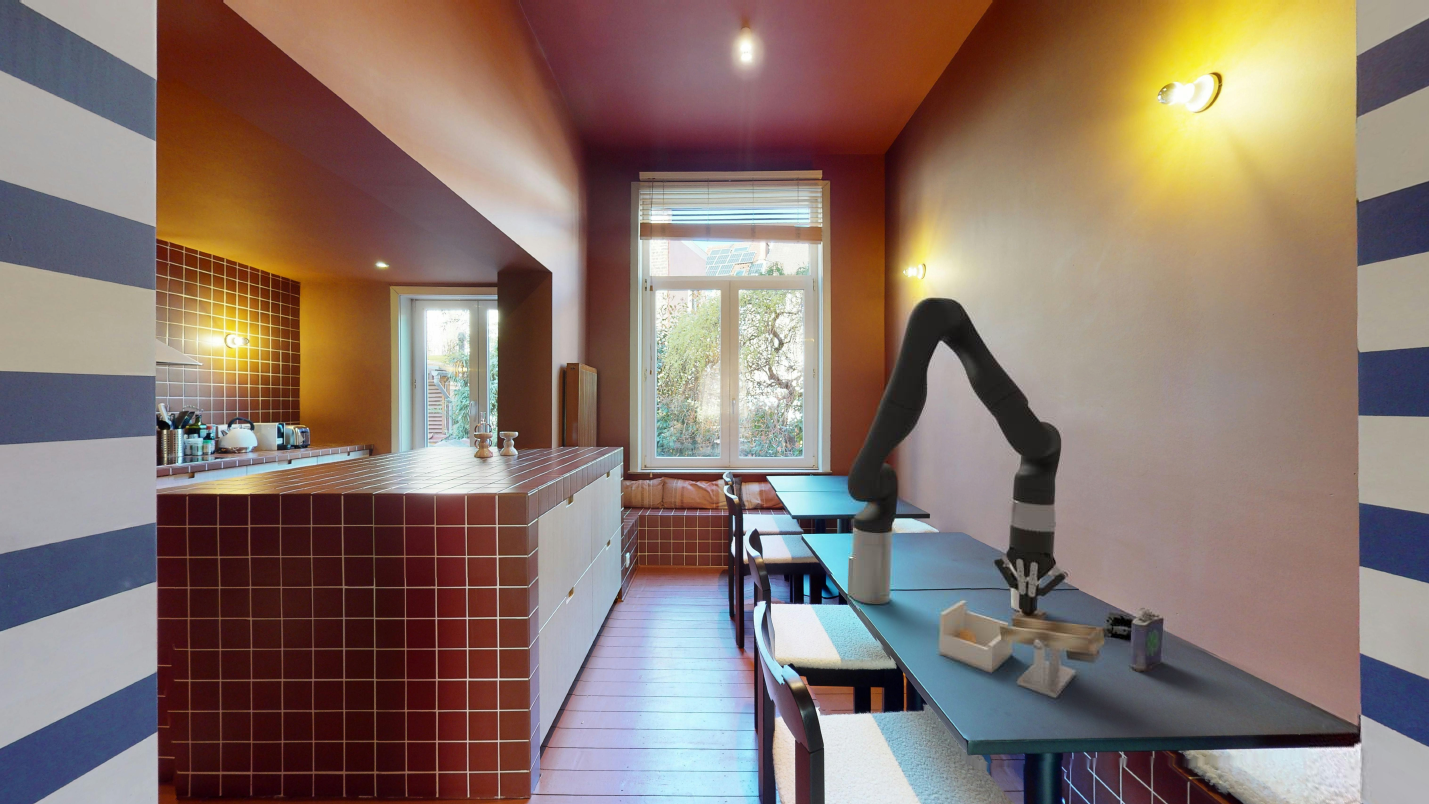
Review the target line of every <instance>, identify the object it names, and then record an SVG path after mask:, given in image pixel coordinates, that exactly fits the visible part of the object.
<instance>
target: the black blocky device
mask: <svg viewBox="0 0 1429 804" xmlns="http://www.w3.org/2000/svg"><path fill="white" fill-rule="evenodd" d="M1133 620H1134V619H1133V618H1132V617H1131V616H1130V615H1129V614H1125V613H1117V612H1116V613H1115V612H1108V616H1107V617H1106V620H1105V621H1106V627H1102V629H1103V634H1104V638H1111V639H1118V640H1125V641H1131V632H1132V629H1131V628H1132V621H1133ZM1115 627H1116V628H1115ZM1118 627H1123V628H1118ZM1125 628H1126V629H1125Z"/></svg>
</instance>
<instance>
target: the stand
mask: <svg viewBox="0 0 1429 804" xmlns="http://www.w3.org/2000/svg"><path fill="white" fill-rule="evenodd" d="M1032 646H1033V649H1034V650H1033V664H1032V665H1030V667H1028V668H1027V670H1026V671H1025V672H1023V674H1022V675H1021V676H1020V677H1019V678H1018V679H1017V682H1016V683H1017V685H1019V686H1021V687H1023V688H1026V689H1029V690H1032V691H1035V692H1038V693H1041V694H1043V695H1045V696H1048V697H1051V698H1053V699H1057V698H1058V696H1059V695H1060V694H1061V693H1062V691H1064V689H1065V688H1066V687H1067V685H1068V684H1069V683H1070V682H1071V680H1072V679H1074V677H1075V675H1076V670H1075V669H1074V668H1073V669H1072V668H1070V667H1066V666H1063V665H1061V660H1062V658H1061V657H1062V656H1061V655H1062V649H1055V648H1049V654H1048V655H1049V657H1048V660H1047V647H1046V646H1047V641H1046V640H1043V639H1039V638H1036V639H1035V642H1034V643H1033V645H1032Z"/></svg>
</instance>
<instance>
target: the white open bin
mask: <svg viewBox="0 0 1429 804" xmlns="http://www.w3.org/2000/svg"><path fill="white" fill-rule="evenodd" d="M967 603H968V602H967V600H960V601H959V602H957V603H955V604H953V605H952V606H950V607H949V608H947V609H945V610H943V611H941V612H940V613H939V615H940V616H939V637H938V638H939V641H938V654H939V655H941V656H944V657H946V658H949V659H952V660H955V661H957V662H961V663H963V664H965V665H968V666H971V667H974V668H977V669H979V670H982V671H985V672H987V673H991V674H992V673H993V672H994V671H996V670H997V669H998V668H999V667H1000V666H1001V665H1002V664H1003V663H1005V662H1006V661H1007V660H1008V659H1009V658H1010V657H1011V656H1012V655H1013V642H1007V641H1001V634H1000V626H1008V627H1009V623H1008V622H1005V621H1001V620H998V619H995V618H991V617H988V616H984V615H981V614H978V613H976V612H971V611H969V610H967ZM962 630H968V631H970V632H972V633H973V634H974V636H975V638H976V644H974V643H971V642H968V641H965V640H962V639H959V638H957V634H958V633H959V632H960V631H962Z"/></svg>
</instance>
